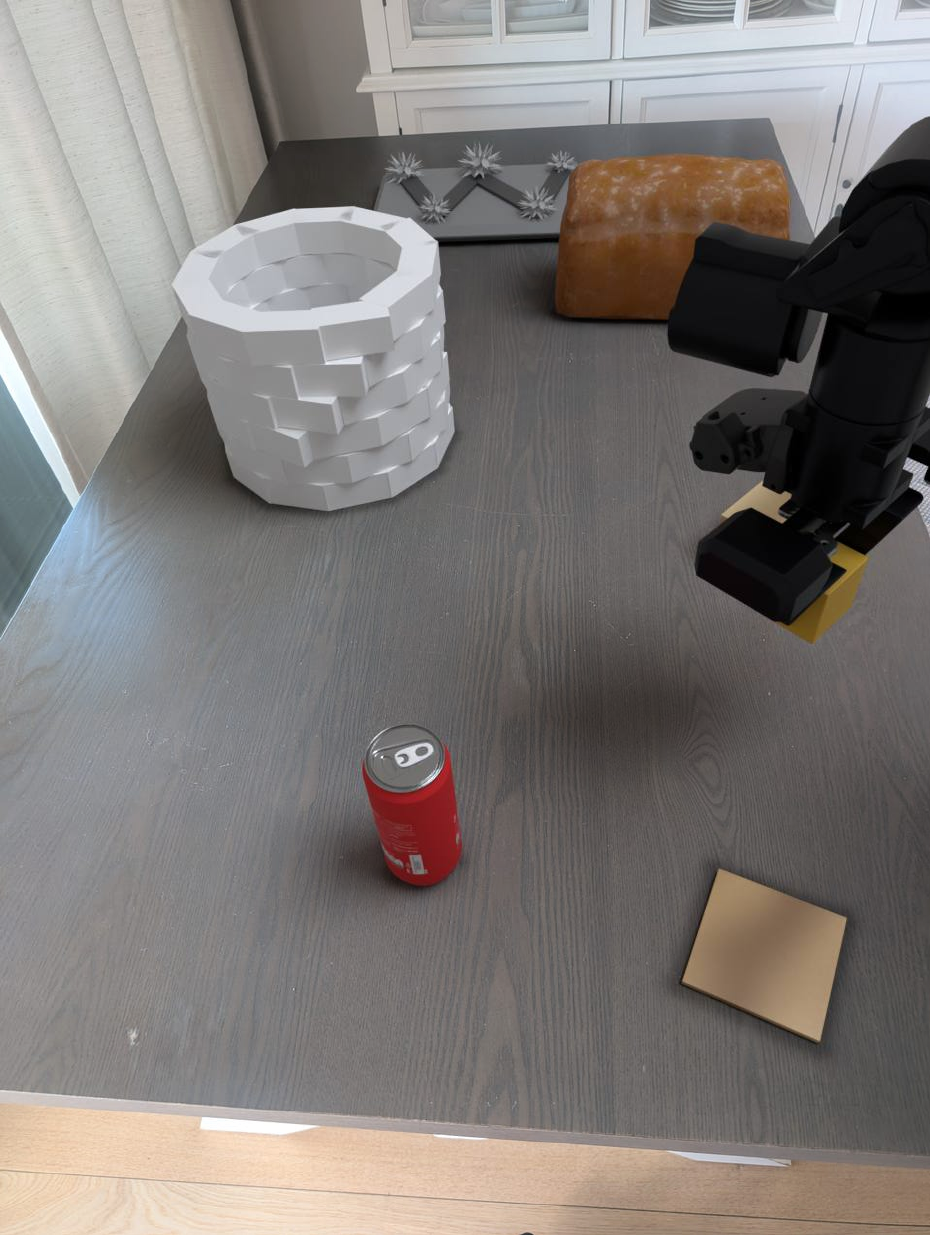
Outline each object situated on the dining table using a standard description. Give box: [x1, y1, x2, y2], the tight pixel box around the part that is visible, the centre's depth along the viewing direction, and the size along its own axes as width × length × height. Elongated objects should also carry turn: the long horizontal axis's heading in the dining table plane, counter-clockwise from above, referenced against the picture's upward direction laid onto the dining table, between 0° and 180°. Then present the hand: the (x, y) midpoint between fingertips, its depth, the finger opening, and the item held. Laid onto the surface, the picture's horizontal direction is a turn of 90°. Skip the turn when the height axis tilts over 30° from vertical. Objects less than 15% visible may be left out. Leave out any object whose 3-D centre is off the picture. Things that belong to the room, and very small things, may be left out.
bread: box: [554, 153, 792, 321], centre depth 102 cm, size 14×26×16 cm, turn 81°
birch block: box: [718, 480, 791, 526], centre depth 76 cm, size 7×7×4 cm
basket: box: [170, 205, 456, 512], centre depth 86 cm, size 25×24×19 cm
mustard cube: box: [755, 541, 869, 645], centre depth 57 cm, size 4×4×4 cm
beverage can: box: [361, 722, 463, 887], centre depth 56 cm, size 5×5×12 cm
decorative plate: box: [372, 140, 580, 243], centre depth 125 cm, size 30×22×7 cm
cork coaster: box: [681, 868, 848, 1044], centre depth 54 cm, size 8×8×1 cm
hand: (804, 601), depth 58 cm, fingers closed on mustard cube, 4 cm apart
